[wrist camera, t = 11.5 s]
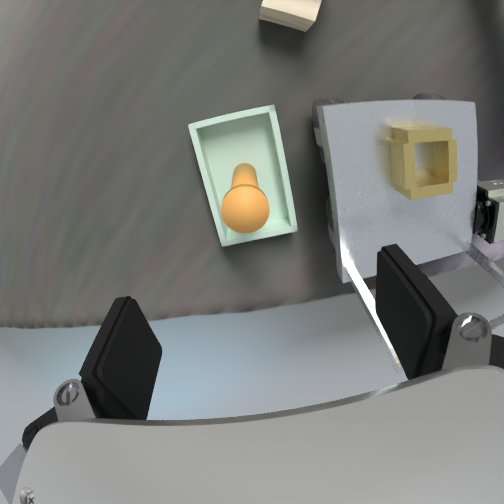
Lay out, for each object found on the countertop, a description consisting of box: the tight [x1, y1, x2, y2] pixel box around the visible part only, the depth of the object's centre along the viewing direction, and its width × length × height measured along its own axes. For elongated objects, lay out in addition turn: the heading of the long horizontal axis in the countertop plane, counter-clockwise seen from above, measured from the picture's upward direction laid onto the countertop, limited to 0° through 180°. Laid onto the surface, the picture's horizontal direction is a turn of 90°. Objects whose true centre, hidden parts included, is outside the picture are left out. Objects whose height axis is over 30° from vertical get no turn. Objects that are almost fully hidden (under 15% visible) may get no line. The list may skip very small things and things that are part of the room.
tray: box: [188, 105, 298, 247], centre depth 29 cm, size 13×8×3 cm, turn 12°
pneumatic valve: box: [472, 179, 504, 244], centre depth 26 cm, size 6×12×12 cm, turn 101°
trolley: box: [312, 94, 504, 375], centre depth 21 cm, size 17×16×21 cm
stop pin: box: [221, 163, 270, 233], centre depth 25 cm, size 3×3×11 cm
